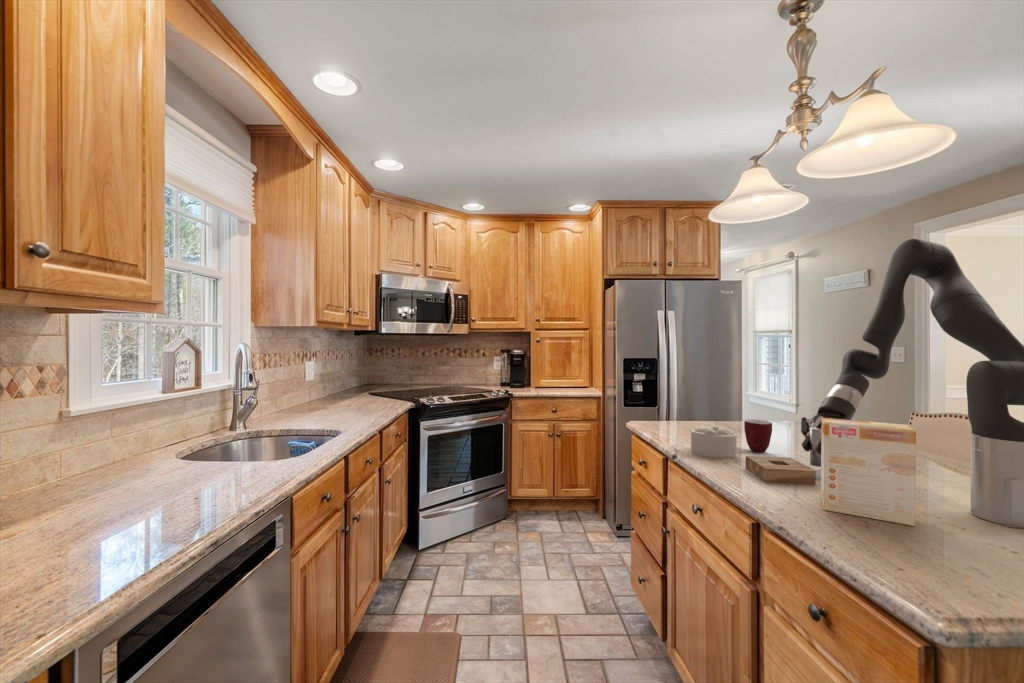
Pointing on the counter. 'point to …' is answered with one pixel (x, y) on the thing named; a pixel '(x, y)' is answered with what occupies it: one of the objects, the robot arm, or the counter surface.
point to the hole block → (780, 470)
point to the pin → (815, 446)
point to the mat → (818, 475)
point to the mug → (758, 434)
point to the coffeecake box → (869, 469)
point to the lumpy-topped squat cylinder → (713, 442)
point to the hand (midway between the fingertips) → (812, 450)
